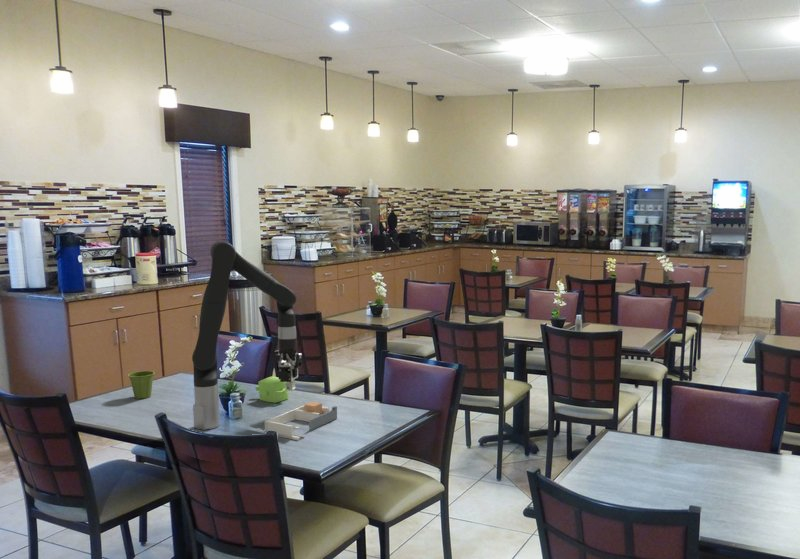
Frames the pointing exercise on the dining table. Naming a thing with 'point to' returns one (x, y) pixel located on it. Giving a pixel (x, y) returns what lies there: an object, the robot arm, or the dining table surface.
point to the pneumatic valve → (287, 376)
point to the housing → (287, 430)
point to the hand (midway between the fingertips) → (288, 376)
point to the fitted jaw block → (314, 407)
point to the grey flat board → (323, 419)
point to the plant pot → (142, 383)
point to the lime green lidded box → (272, 390)
